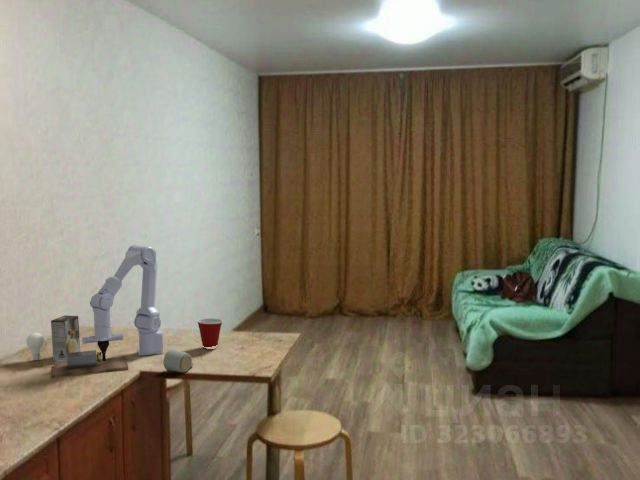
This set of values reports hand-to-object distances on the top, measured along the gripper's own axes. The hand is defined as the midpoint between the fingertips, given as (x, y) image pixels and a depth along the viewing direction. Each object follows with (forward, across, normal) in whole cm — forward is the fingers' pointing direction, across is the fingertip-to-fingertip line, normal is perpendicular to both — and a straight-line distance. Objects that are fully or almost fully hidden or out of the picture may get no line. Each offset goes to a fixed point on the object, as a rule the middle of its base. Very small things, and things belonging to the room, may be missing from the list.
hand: (104, 360), depth 235 cm
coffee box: (+3, -14, +17) cm, 22 cm away
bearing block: (+2, -8, 0) cm, 8 cm away
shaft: (0, -9, 0) cm, 9 cm away
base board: (+2, -5, 0) cm, 5 cm away
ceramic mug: (+3, +26, -14) cm, 30 cm away
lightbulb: (+2, -25, +17) cm, 30 cm away
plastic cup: (+3, +42, +11) cm, 44 cm away
